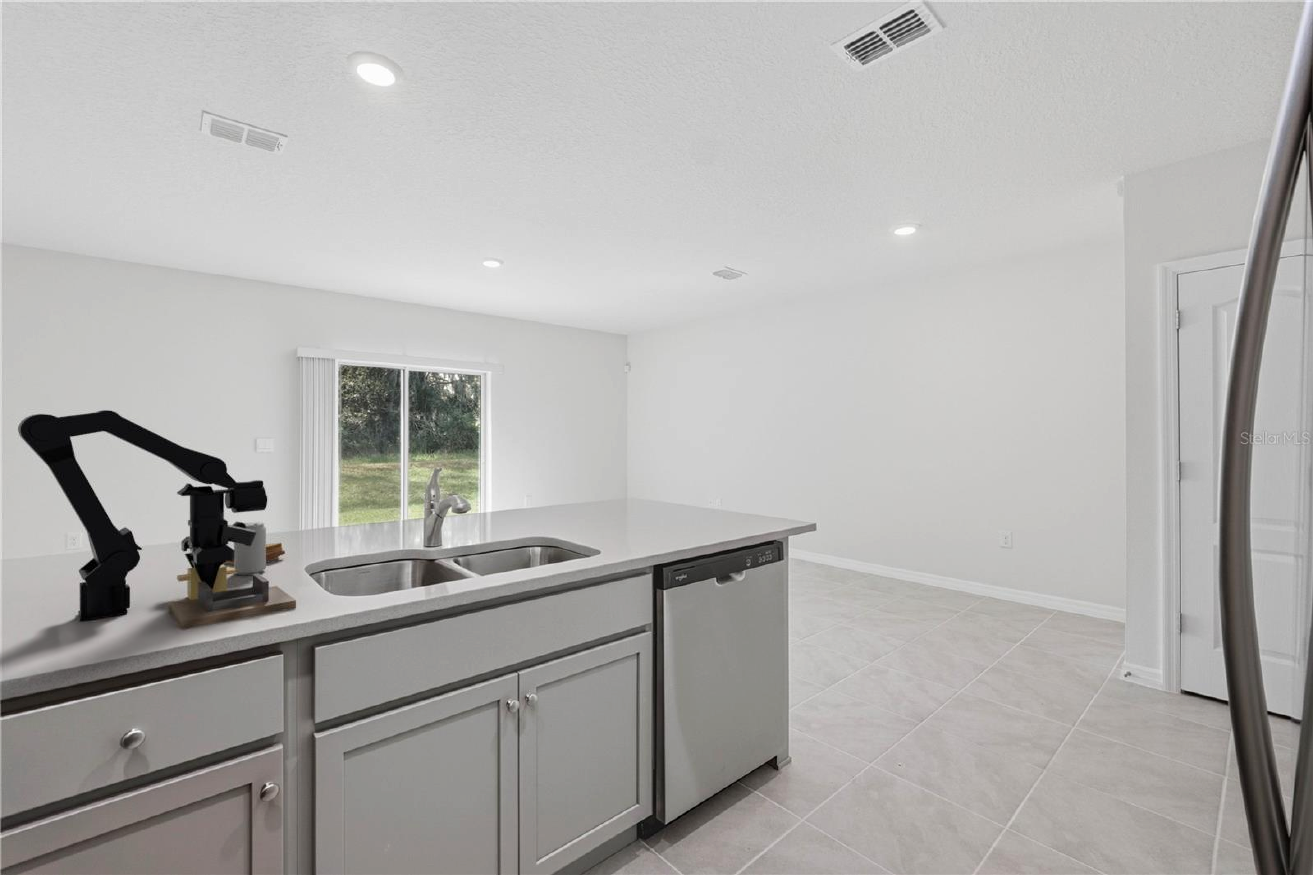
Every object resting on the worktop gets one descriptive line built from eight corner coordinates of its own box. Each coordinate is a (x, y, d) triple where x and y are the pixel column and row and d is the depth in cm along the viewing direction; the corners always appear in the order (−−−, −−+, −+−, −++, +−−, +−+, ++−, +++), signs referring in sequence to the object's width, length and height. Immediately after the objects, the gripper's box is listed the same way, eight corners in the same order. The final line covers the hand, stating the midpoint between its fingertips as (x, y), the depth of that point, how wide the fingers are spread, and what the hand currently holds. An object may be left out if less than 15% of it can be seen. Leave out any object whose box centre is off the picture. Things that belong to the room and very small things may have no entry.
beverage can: (249, 576, 138) (249, 526, 138) (227, 574, 139) (227, 525, 139) (272, 570, 144) (272, 522, 144) (250, 568, 146) (250, 520, 145)
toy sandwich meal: (260, 554, 162) (261, 537, 162) (293, 559, 157) (293, 542, 157) (211, 563, 151) (211, 545, 150) (244, 570, 145) (244, 551, 145)
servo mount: (181, 629, 103) (181, 599, 103) (169, 611, 113) (169, 583, 113) (296, 607, 117) (296, 580, 116) (276, 592, 126) (276, 567, 126)
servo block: (179, 602, 118) (179, 573, 118) (176, 598, 121) (176, 569, 121) (236, 593, 125) (236, 565, 125) (232, 589, 128) (232, 562, 128)
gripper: (263, 516, 122) (263, 590, 122) (242, 506, 135) (242, 573, 135) (196, 522, 114) (197, 601, 114) (180, 511, 127) (180, 582, 127)
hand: (207, 588), depth 123 cm, fingers closed on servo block, 4 cm apart
